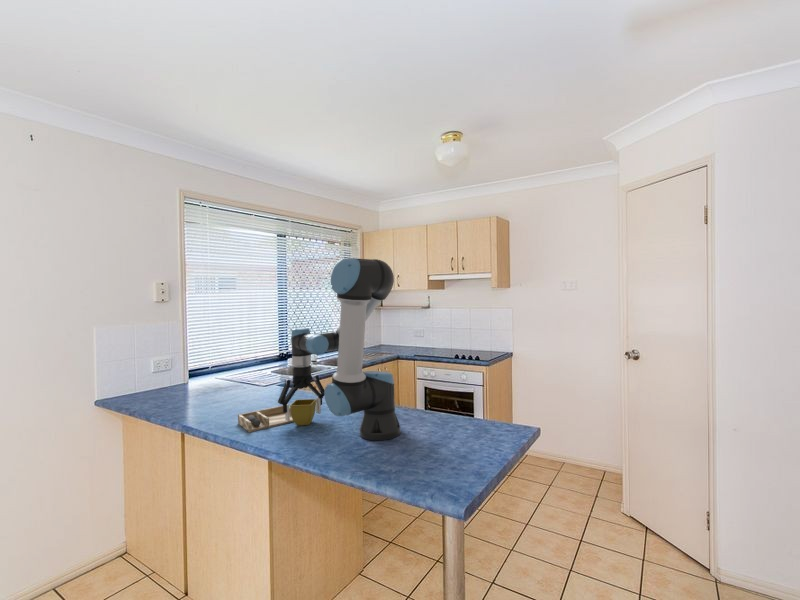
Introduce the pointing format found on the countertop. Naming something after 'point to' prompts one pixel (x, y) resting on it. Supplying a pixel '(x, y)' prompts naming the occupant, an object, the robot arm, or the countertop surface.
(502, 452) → the countertop surface
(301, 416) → the flower pot
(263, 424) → the divided wooden tray
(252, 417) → the cord stub
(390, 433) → the robot arm
